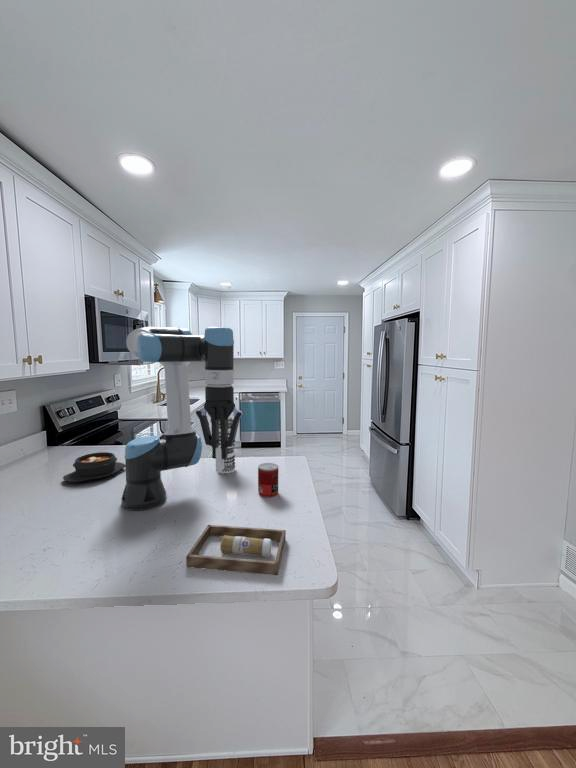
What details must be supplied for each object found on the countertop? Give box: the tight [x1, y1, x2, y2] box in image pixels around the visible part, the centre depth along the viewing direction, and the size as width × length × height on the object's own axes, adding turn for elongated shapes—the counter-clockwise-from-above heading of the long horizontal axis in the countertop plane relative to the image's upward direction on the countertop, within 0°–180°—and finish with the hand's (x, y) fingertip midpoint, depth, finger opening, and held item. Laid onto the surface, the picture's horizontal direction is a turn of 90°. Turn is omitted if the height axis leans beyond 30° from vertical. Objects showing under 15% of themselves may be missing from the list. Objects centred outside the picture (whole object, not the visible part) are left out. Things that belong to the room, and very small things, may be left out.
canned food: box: [257, 462, 279, 498], centre depth 129 cm, size 8×8×11 cm
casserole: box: [62, 451, 126, 483], centre depth 146 cm, size 25×19×8 cm
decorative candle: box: [217, 416, 236, 475], centre depth 152 cm, size 9×9×25 cm
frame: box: [185, 524, 287, 576], centre depth 90 cm, size 24×16×3 cm, turn 83°
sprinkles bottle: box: [219, 535, 273, 558], centre depth 90 cm, size 5×5×13 cm
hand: (220, 469), depth 91 cm, fingers closed
